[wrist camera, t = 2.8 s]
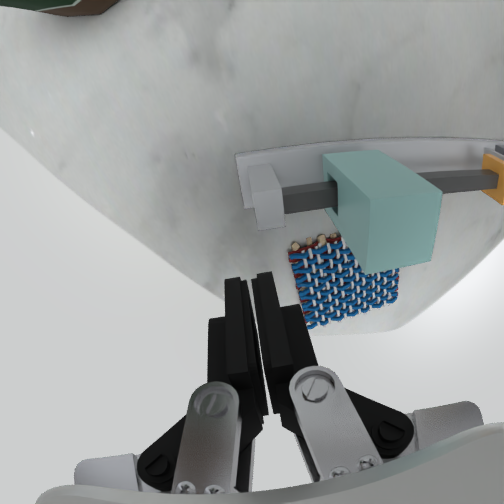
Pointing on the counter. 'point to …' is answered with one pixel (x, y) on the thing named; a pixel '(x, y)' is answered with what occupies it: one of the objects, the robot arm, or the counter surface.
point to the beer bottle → (62, 6)
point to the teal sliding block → (382, 209)
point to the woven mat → (337, 282)
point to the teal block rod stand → (400, 149)
